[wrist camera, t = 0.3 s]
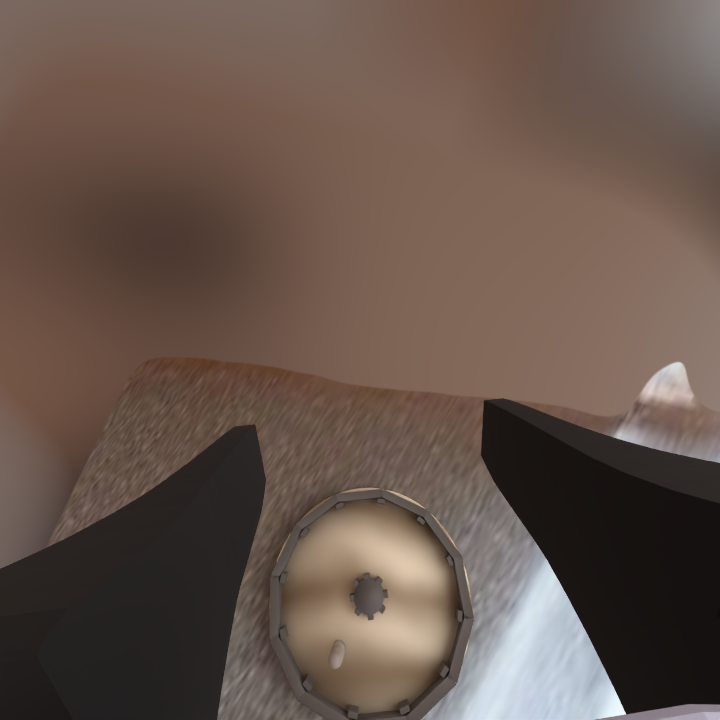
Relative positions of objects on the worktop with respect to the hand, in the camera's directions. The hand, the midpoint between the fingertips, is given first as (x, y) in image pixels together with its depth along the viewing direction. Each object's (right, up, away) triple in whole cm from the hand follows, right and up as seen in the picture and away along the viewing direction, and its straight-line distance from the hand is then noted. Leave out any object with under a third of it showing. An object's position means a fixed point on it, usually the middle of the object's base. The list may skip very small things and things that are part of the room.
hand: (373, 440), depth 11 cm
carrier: (0, -20, +23) cm, 31 cm away
